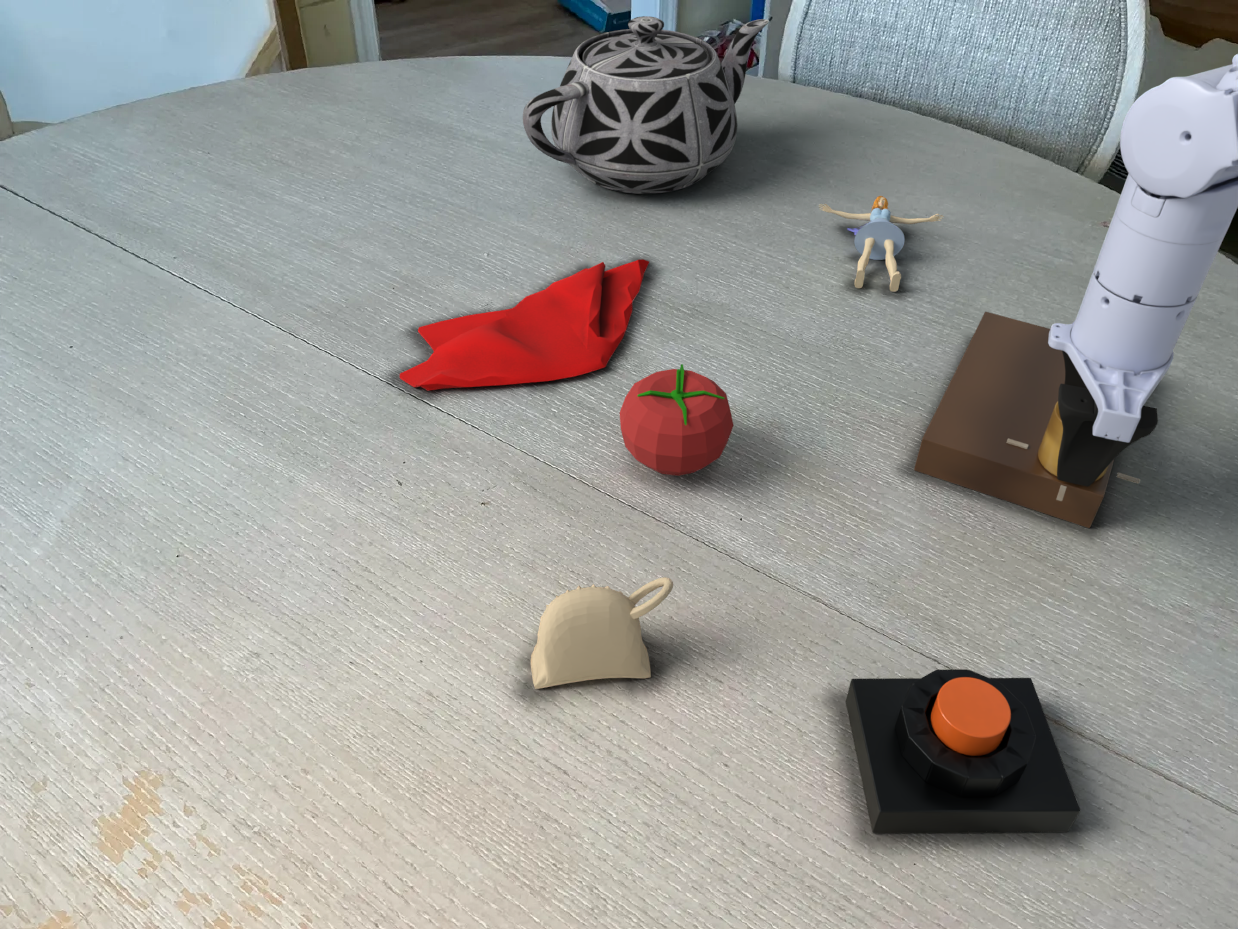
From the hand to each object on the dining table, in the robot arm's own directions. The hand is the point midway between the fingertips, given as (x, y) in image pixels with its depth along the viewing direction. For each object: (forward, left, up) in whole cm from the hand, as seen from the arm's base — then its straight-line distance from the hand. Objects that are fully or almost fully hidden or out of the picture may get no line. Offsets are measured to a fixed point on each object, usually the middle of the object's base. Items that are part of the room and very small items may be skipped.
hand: (1074, 455), depth 68 cm
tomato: (+25, +10, -4) cm, 27 cm away
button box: (+1, +25, -3) cm, 25 cm away
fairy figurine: (+21, -24, -4) cm, 32 cm away
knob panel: (+3, -6, -4) cm, 7 cm away
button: (+1, +24, 0) cm, 25 cm away
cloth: (+41, +1, -4) cm, 41 cm away
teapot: (+48, -31, -4) cm, 58 cm away
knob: (0, 0, 0) cm, 0 cm away
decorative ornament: (+21, +28, -4) cm, 35 cm away
